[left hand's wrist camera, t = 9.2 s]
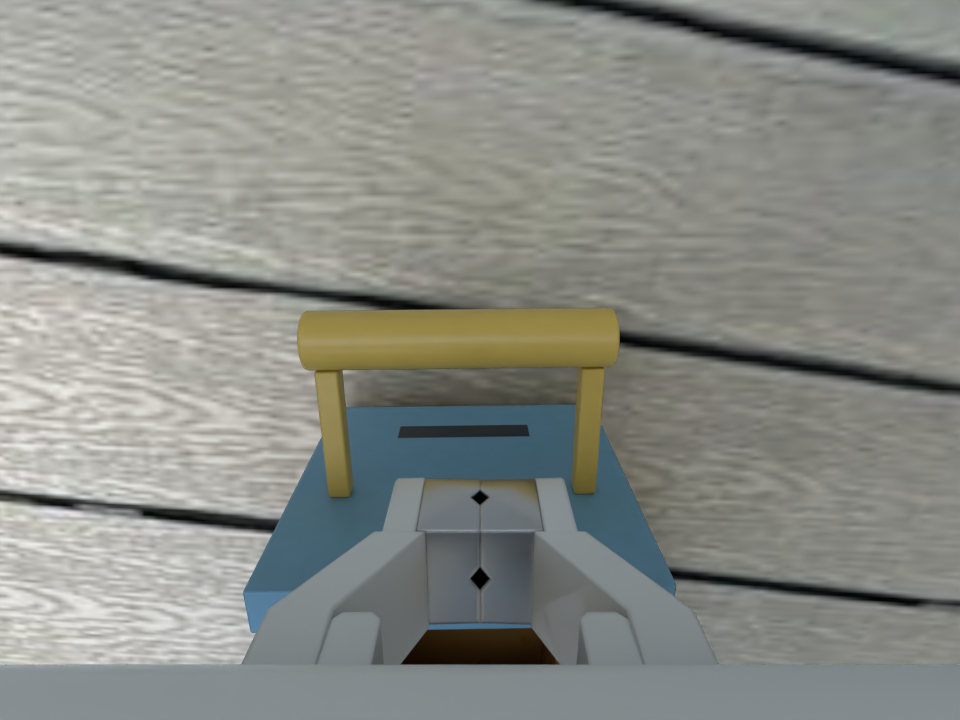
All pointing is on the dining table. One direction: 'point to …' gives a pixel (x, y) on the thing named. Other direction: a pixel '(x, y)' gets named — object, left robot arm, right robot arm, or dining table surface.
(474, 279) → the dining table surface
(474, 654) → the drawer
